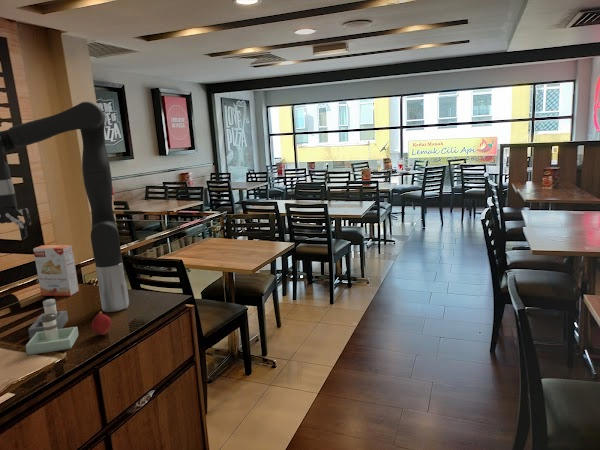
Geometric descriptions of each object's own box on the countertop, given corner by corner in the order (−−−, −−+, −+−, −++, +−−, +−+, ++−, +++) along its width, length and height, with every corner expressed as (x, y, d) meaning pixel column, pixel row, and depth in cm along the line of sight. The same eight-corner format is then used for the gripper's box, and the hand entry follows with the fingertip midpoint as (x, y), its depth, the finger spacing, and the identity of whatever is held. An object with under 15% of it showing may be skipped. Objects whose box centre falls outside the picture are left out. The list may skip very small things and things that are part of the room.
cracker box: (40, 296, 184) (31, 248, 180) (50, 291, 190) (42, 244, 186) (70, 296, 182) (62, 247, 178) (79, 291, 188) (72, 244, 184)
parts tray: (78, 335, 143) (77, 326, 143) (70, 348, 134) (69, 339, 133) (38, 340, 140) (36, 332, 140) (27, 355, 131) (25, 345, 130)
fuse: (60, 322, 155) (56, 298, 153) (57, 326, 151) (53, 301, 150) (48, 323, 154) (44, 299, 152) (45, 328, 150) (41, 303, 149)
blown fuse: (61, 339, 139) (56, 312, 137) (58, 344, 136) (53, 316, 134) (48, 341, 138) (43, 314, 137) (45, 346, 135) (39, 318, 133)
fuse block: (68, 319, 157) (66, 310, 156) (57, 335, 143) (55, 325, 143) (43, 323, 155) (41, 313, 154) (29, 339, 142) (28, 329, 141)
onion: (93, 340, 138) (90, 316, 137) (93, 334, 143) (89, 311, 142) (113, 336, 141) (110, 312, 139) (112, 329, 146) (108, 307, 144)
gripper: (28, 190, 154) (36, 235, 157) (-18, 194, 150) (-9, 240, 153) (21, 192, 146) (29, 240, 149) (-28, 196, 143) (-18, 244, 146)
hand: (10, 240), depth 151 cm, fingers open, 8 cm apart
